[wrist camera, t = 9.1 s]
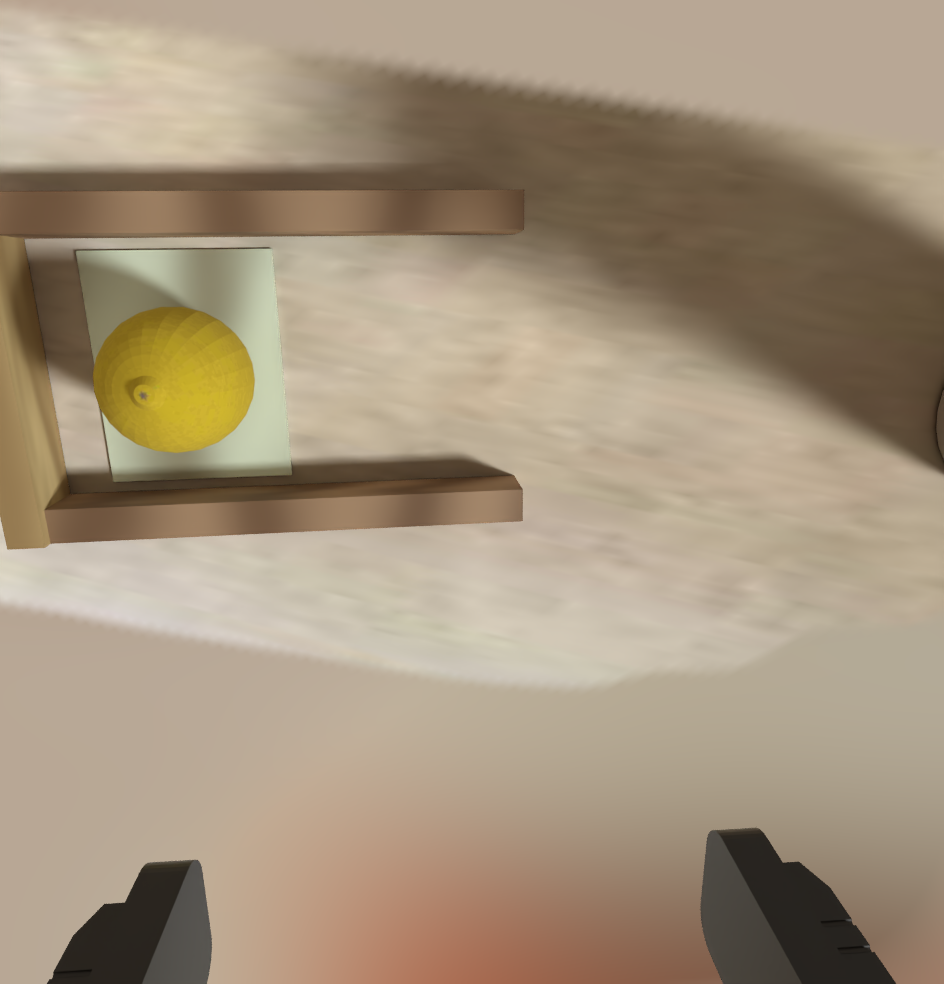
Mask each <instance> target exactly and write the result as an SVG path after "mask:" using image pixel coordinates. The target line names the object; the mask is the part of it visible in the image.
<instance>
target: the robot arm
mask: <svg viewBox="0 0 944 984" xmlns="http://www.w3.org/2000/svg"><path fill="white" fill-rule="evenodd" d="M936 431H937V438H938V445H939V449H940V451H941V454H942V457H943V459H944V390H943V393H942V396H941V400H940V404H939V408H938V413H937V427H936ZM701 921H702V927H703V932H704V936H705V940H706V944H707V947H708V950H709V952H710V955H711V957H712V959H713V962H714V964H715V966H716V969H717V970H718V973H719V975H720V978H721V980H722V982H723V984H896V983H895V981H894V980H893V979H892V977H891V976H890V974H889V973H888V971H887V970H886V968H885V967H884V965H883V964H882V962H881V961H880V960H879V958H878V957H877V955H876V954H875V952H871V950H870V945H869V944H868V942H867V941H866V939H865V938H864V936H863V935H862V933H861V932H860V931H859V929H858V928H857V926H856V925H855V926H854V925H853V924H852V919H851V917H850V916H849V915H848V913H847V912H846V910H845V909H844V907H843V906H842V904H841V903H840V902H839V900H838V899H837V897H836V896H835V894H834V893H833V891H832V890H831V888H830V887H829V886H827V885H826V884H825V883H824V882H823V881H821V880H820V879H819V878H818V877H817V876H815V875H814V874H813V873H812V872H810V871H809V870H808V869H807V868H806V867H805V866H803V865H802V864H801V863H800V862H787V863H783V862H782V861H781V859H780V858H779V856H778V854H777V853H776V851H775V850H774V848H773V847H772V845H771V844H770V842H769V840H768V839H767V837H766V836H765V835H764V833H763V832H762V831H761V830H760V829H758V828H745V829H729V830H713V831H710V833H709V834H708V838H707V844H706V855H705V865H704V875H703V886H702V897H701ZM211 940H212V938H211V930H210V923H209V916H208V909H207V902H206V895H205V887H204V880H203V873H202V867H201V864H200V862H199V861H198V860H185V861H169V862H153V863H147V864H146V865H145V866H144V867H143V868H142V869H141V871H140V873H139V875H138V877H137V879H136V881H135V883H134V885H133V887H132V889H131V891H130V893H129V895H128V897H127V900H126V902H125V903H113V904H104V905H103V906H102V907H101V908H100V909H99V910H98V911H97V912H96V913H95V914H94V915H93V916H92V917H91V918H90V919H89V920H88V921H87V922H86V923H85V924H84V925H83V927H81V928H80V929H79V930H78V931H77V932H76V934H74V935H73V937H72V939H71V941H70V942H69V944H68V946H67V948H66V950H65V952H64V954H63V955H62V957H61V959H60V961H59V963H58V965H57V966H56V969H55V970H54V972H53V973H54V975H53V978H52V979H50V980H49V981H48V983H47V984H207V980H208V976H209V969H210V963H211V952H212V941H211Z"/></svg>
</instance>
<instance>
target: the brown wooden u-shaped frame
mask: <svg viewBox="0 0 944 984" xmlns="http://www.w3.org/2000/svg"><path fill="white" fill-rule="evenodd" d="M522 230H524V190H295V191H0V517H1V522H2V526H3V531H4V536H5V540H6V545H7V549H28V548H45V547H47V546H48V545H49V544H52V543H73V542H94V541H115V540H136V539H157V538H178V537H199V536H220V535H241V534H262V533H283V532H304V531H325V530H346V529H367V528H388V527H409V526H430V525H451V524H472V523H493V522H514V521H523V489H522V488H521V486H520V484H519V483H518V481H517V480H516V478H515V476H514V475H513V476H489V477H465V478H440V479H416V480H392V481H368V482H344V483H320V484H296V485H272V486H247V487H223V488H199V489H175V490H151V491H127V492H103V493H79V494H70V489H69V484H68V478H67V473H66V467H65V462H64V456H63V451H62V445H61V440H60V435H59V429H58V424H57V418H56V413H55V407H54V402H53V396H52V391H51V385H50V380H49V374H48V369H47V363H46V358H45V352H44V347H43V341H42V336H41V330H40V325H39V319H38V314H37V308H36V303H35V297H34V292H33V286H32V281H31V275H30V270H29V264H28V259H27V253H26V248H25V242H24V239H39V238H149V237H260V236H371V235H481V234H516V233H518V232H520V231H522ZM76 257H77V263H78V269H79V275H80V281H81V287H82V293H83V299H84V306H85V312H86V318H87V324H88V330H89V336H90V342H91V348H92V355H93V361H94V366H95V361H96V357H97V355H98V353H99V351H100V349H101V347H102V345H103V343H104V341H105V339H106V338H107V337H108V336H109V335H110V334H111V333H112V332H113V331H114V330H115V329H116V328H117V326H118V325H120V324H121V323H122V322H124V321H126V320H127V319H129V318H131V317H132V316H134V315H136V314H138V313H140V312H143V311H147V310H151V309H155V308H159V307H186V308H190V309H194V310H198V311H202V312H205V313H207V314H209V315H210V316H212V317H214V318H216V319H218V320H220V321H222V322H223V323H224V324H225V325H226V326H227V327H229V328H230V329H231V330H232V331H233V332H234V333H236V335H237V336H238V337H239V339H240V340H241V342H242V343H243V344H244V346H245V347H246V349H247V351H248V354H249V356H250V359H251V361H252V364H253V370H254V377H255V385H254V394H253V399H252V402H251V404H250V407H249V409H248V412H247V414H246V416H245V417H244V418H243V420H242V421H241V422H240V424H239V425H238V426H237V428H236V429H235V430H234V431H233V432H231V433H230V434H229V435H227V436H226V437H225V438H224V439H222V440H221V441H219V442H218V443H215V444H213V445H210V446H208V447H205V448H203V449H200V450H195V451H188V452H181V453H172V452H162V451H155V450H152V449H149V448H146V447H143V446H140V445H137V444H136V443H134V442H133V441H131V440H129V439H128V438H126V437H124V436H123V435H122V434H121V433H120V432H119V431H117V430H116V429H115V428H114V427H113V426H112V425H111V424H110V423H109V421H108V420H107V418H106V417H105V415H104V414H103V412H102V416H103V422H104V428H105V434H106V440H107V446H108V452H109V459H110V465H111V471H112V477H113V482H127V481H152V480H177V479H201V478H226V477H251V476H276V475H292V467H291V456H290V445H289V434H288V422H287V411H286V400H285V389H284V378H283V367H282V355H281V344H280V333H279V322H278V311H277V300H276V289H275V277H274V266H273V255H272V249H192V250H98V251H76Z"/></svg>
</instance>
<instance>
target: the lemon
mask: <svg viewBox="0 0 944 984" xmlns="http://www.w3.org/2000/svg"><path fill="white" fill-rule="evenodd" d="M93 382H94V392H95V395H96V398H97V401H98V404H99V407H100V409H101V411H102V412H103V414H104V415H105V417H106V418H107V420H108V421H109V423H110V424H111V425H112V426H113V427H114V428H115V429H116V430H117V431H119V432H120V433H121V434H122V435H123V436H124V437H126V438H128V439H129V440H131V441H133V442H134V443H136V444H137V445H140V446H143V447H146V448H149V449H152V450H155V451H162V452H172V453H181V452H188V451H195V450H200V449H203V448H205V447H208V446H210V445H213V444H215V443H218V442H219V441H221V440H222V439H224V438H225V437H226V436H227V435H229V434H230V433H231V432H233V431H234V430H235V429H236V428H237V426H238V425H239V424H240V422H241V421H242V420H243V418H244V417H245V416H246V414H247V412H248V409H249V407H250V404H251V402H252V399H253V394H254V385H255V377H254V370H253V364H252V361H251V359H250V356H249V354H248V351H247V349H246V347H245V346H244V344H243V343H242V342H241V340H240V339H239V337H238V336H237V335H236V333H234V332H233V331H232V330H231V329H230V328H229V327H227V326H226V325H225V324H224V323H223V322H222V321H220V320H218V319H216V318H214V317H212V316H210V315H209V314H207V313H205V312H202V311H198V310H194V309H190V308H186V307H159V308H155V309H151V310H147V311H143V312H140V313H138V314H136V315H134V316H132V317H131V318H129V319H127V320H126V321H124V322H122V323H121V324H120V325H118V326H117V328H116V329H115V330H114V331H113V332H112V333H111V334H110V335H109V336H108V337H107V338H106V339H105V341H104V343H103V345H102V347H101V349H100V351H99V353H98V355H97V357H96V361H95V366H94V371H93Z"/></svg>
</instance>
